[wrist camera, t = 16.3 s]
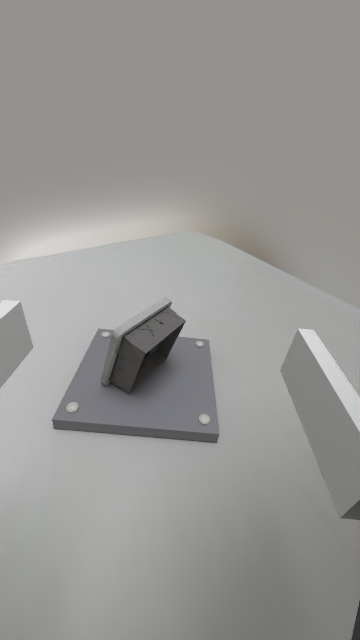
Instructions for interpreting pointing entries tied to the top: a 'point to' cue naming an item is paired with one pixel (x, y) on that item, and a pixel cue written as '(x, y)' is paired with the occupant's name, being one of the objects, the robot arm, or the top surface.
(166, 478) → the top surface
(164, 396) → the mounting plate
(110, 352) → the electrical switch
